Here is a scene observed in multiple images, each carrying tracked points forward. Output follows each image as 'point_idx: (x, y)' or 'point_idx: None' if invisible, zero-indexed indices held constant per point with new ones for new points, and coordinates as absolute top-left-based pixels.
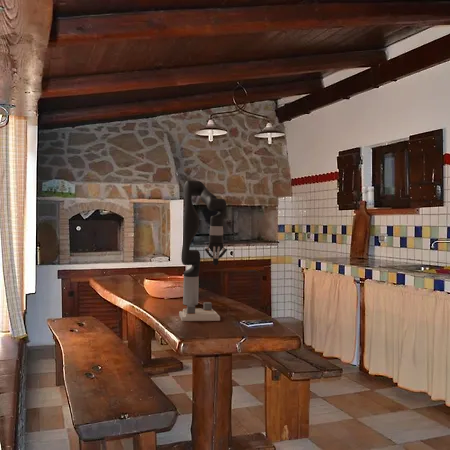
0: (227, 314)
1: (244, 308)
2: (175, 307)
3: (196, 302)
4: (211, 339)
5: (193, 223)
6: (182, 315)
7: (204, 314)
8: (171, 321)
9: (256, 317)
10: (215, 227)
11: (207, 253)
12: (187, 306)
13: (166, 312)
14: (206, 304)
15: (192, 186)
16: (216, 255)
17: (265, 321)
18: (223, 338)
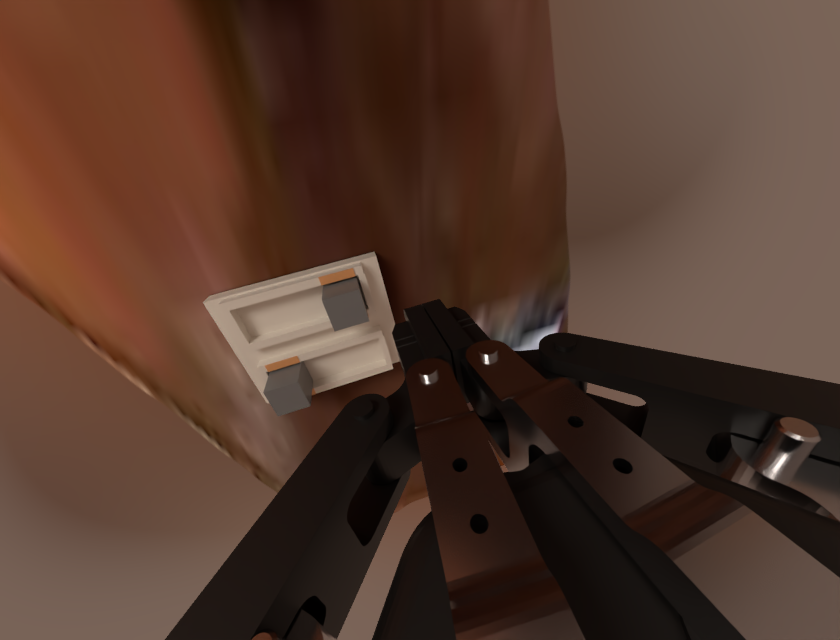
0: (425, 223)
1: (518, 13)
2: (42, 22)
3: None
4: (396, 511)
5: None
6: (257, 378)
7: (349, 381)
8: (231, 403)
9: (529, 260)
10: None
11: (271, 505)
12: (274, 409)
13: (98, 236)
14: (343, 326)
15: None
16: (497, 396)
17: (542, 317)
18: (420, 497)
